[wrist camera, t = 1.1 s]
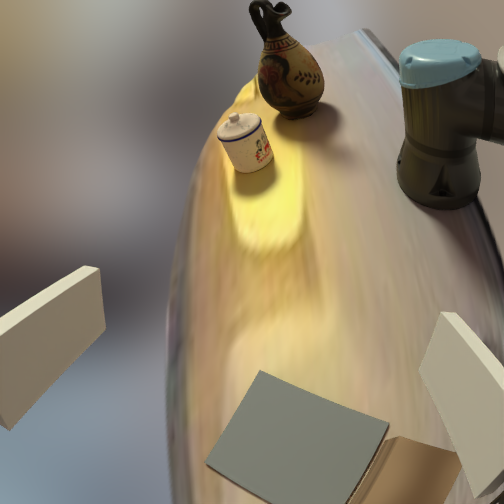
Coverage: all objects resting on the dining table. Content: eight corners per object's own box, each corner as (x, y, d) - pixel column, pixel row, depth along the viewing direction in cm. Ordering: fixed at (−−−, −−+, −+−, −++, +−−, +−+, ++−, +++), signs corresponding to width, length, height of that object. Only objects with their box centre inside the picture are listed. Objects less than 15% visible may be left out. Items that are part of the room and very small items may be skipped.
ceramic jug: (343, 103, 66) (311, -13, 44) (296, 132, 64) (249, 6, 42) (299, 89, 77) (264, -7, 55) (255, 115, 76) (210, 14, 53)
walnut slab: (424, 453, 24) (466, 455, 12) (380, 529, 20) (386, 584, 8) (385, 440, 27) (399, 436, 15) (341, 516, 23) (319, 563, 11)
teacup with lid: (269, 172, 59) (248, 123, 50) (228, 176, 63) (204, 131, 54) (280, 137, 65) (263, 92, 57) (243, 142, 69) (223, 100, 60)
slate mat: (388, 423, 28) (389, 422, 27) (327, 528, 22) (327, 529, 22) (261, 370, 37) (259, 369, 37) (206, 462, 32) (204, 462, 31)
